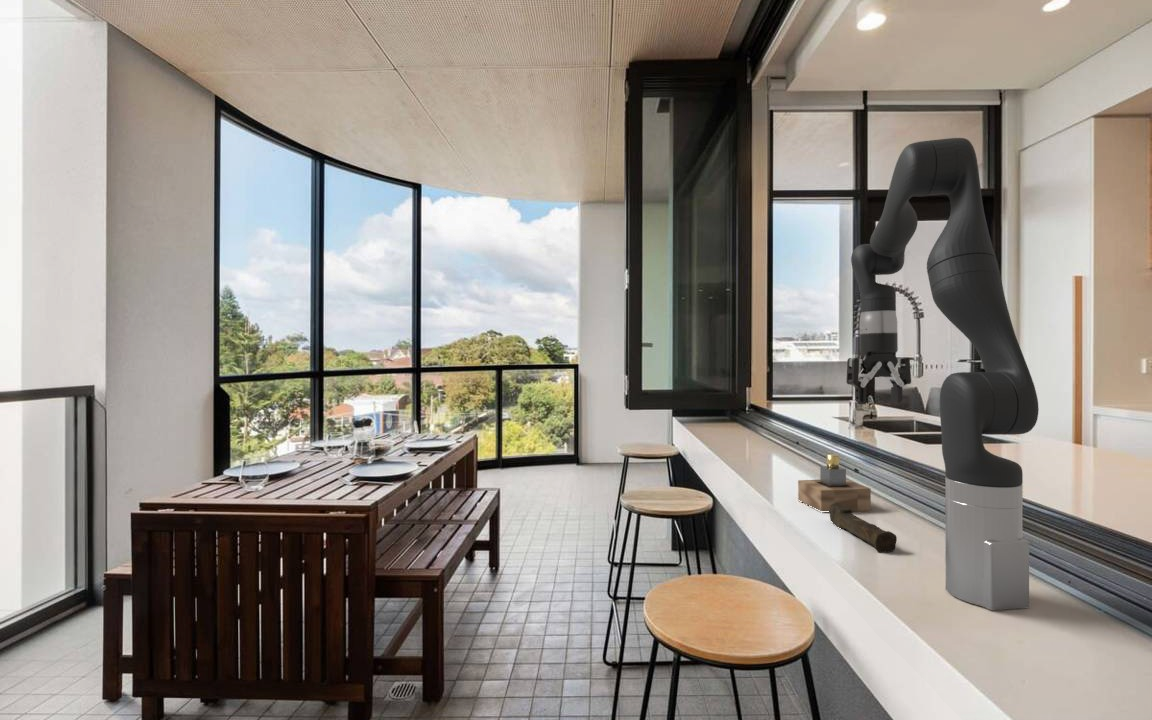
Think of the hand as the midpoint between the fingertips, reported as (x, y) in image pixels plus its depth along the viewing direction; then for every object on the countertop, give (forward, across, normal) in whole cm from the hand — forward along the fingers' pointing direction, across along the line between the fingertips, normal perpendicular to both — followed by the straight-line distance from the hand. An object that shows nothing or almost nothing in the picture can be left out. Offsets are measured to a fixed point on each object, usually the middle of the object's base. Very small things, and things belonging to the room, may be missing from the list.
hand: (879, 403), depth 125 cm
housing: (+24, -7, +7) cm, 26 cm away
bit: (+24, -7, +7) cm, 26 cm away
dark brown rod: (+25, -16, -13) cm, 32 cm away
